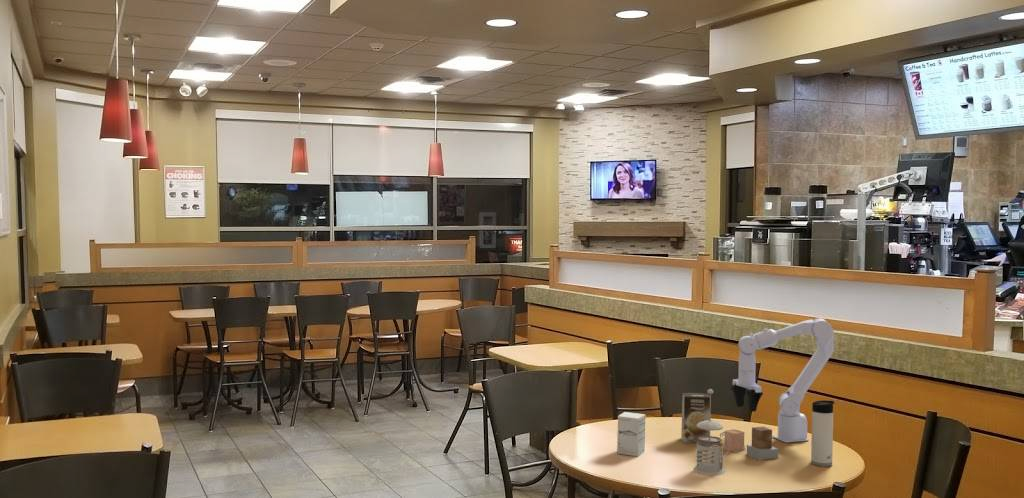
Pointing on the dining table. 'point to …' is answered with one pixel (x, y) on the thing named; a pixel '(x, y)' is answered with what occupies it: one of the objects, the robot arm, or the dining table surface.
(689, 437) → the coffee box
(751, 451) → the base block
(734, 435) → the terracotta block
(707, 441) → the french press
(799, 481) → the dining table surface
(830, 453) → the travel mug
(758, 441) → the walnut block
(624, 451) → the supplement box
